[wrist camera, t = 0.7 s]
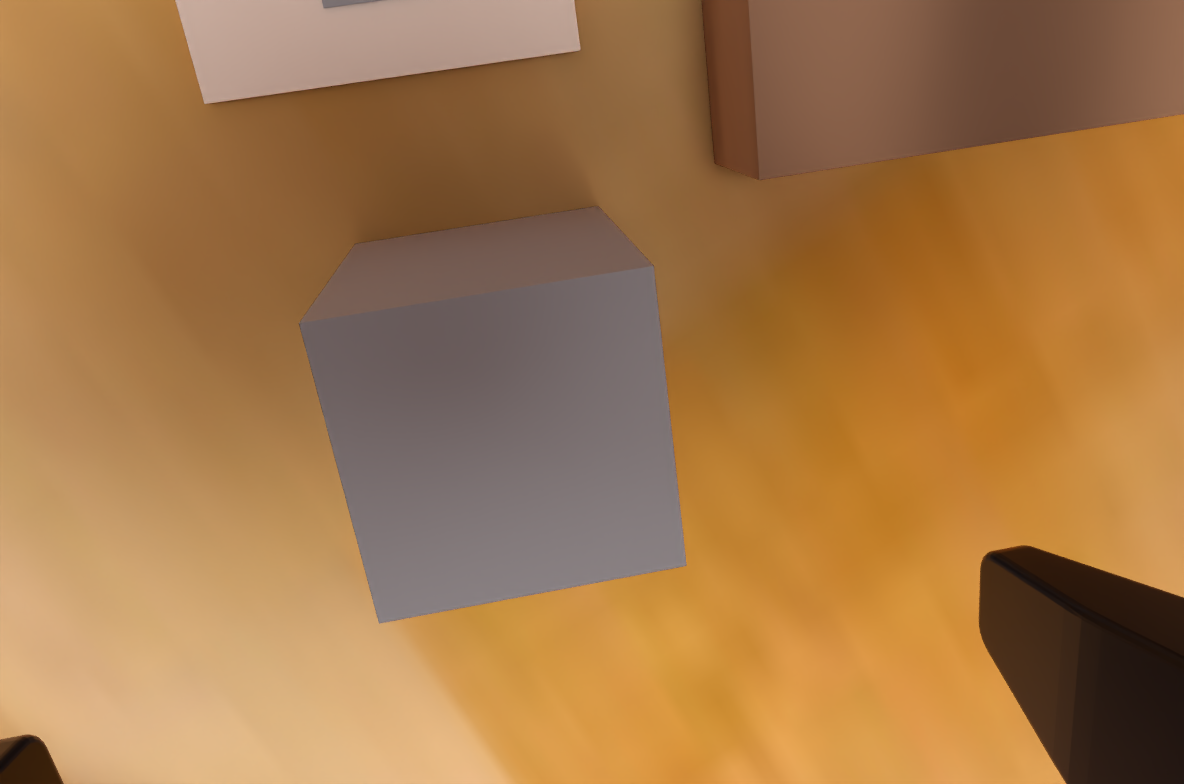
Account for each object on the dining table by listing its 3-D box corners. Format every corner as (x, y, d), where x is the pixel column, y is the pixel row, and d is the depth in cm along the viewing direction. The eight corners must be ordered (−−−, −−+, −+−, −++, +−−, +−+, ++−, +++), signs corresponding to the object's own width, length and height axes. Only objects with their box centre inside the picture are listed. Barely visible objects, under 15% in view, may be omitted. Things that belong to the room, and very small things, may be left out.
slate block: (597, 205, 18) (653, 265, 12) (626, 425, 20) (686, 566, 14) (355, 243, 17) (298, 323, 12) (407, 464, 19) (378, 623, 14)
